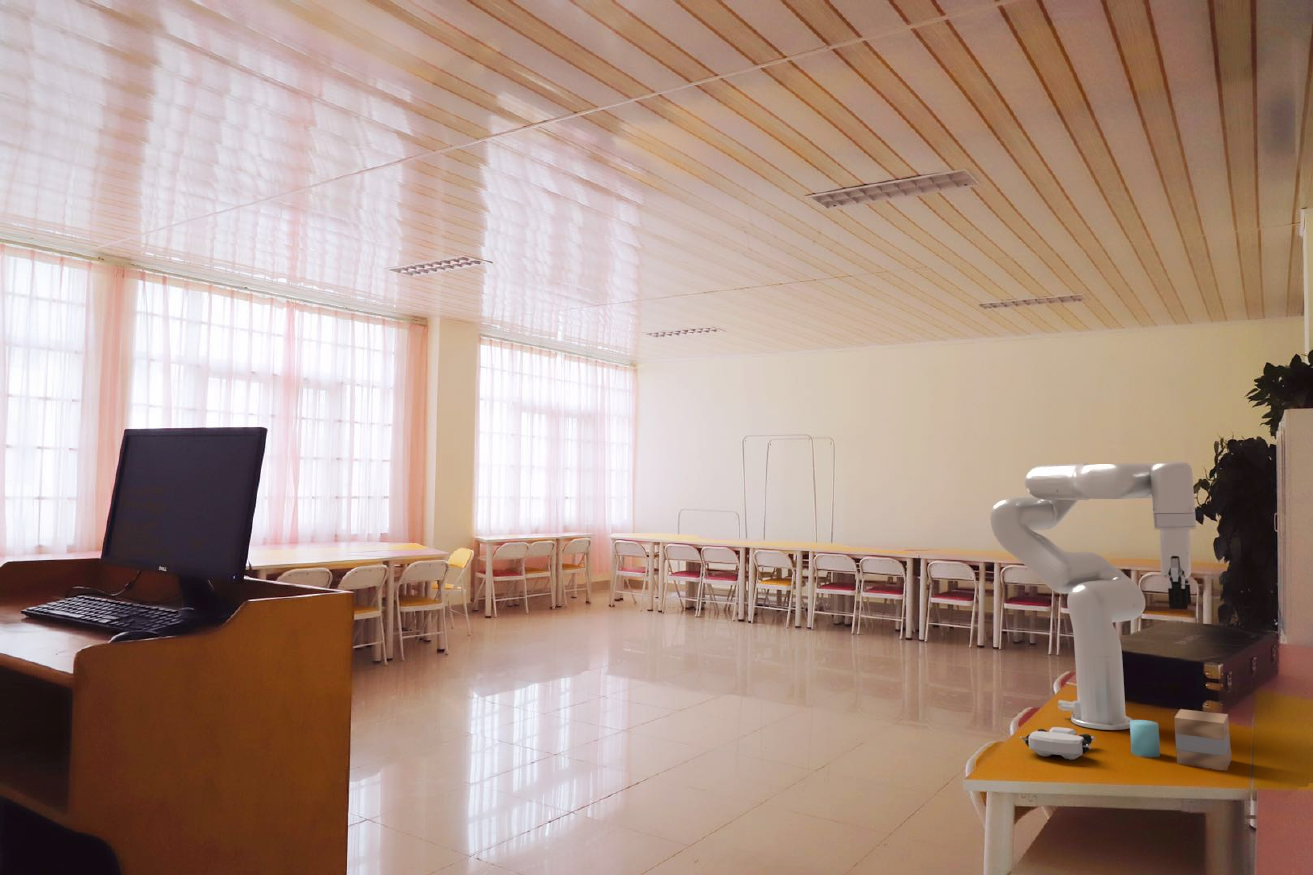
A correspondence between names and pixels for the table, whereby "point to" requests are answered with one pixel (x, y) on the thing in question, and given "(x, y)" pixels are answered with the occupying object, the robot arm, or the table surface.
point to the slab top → (1201, 724)
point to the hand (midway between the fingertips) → (1180, 606)
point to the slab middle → (1203, 744)
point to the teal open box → (1144, 738)
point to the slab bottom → (1204, 759)
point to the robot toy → (1059, 742)
